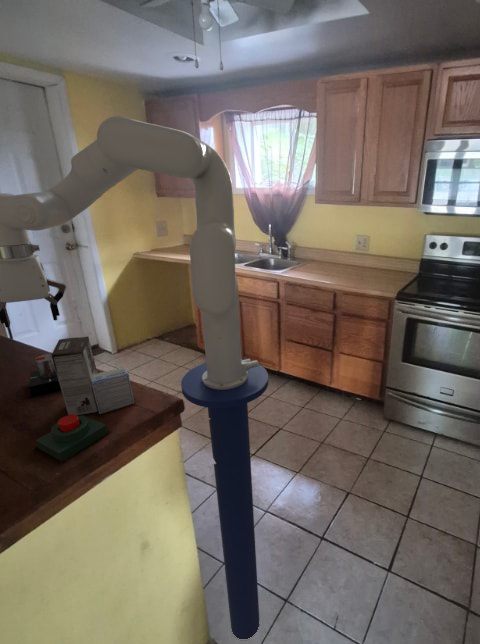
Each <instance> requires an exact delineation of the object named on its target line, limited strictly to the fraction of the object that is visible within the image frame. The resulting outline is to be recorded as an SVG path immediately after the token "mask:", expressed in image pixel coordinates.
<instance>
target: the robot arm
mask: <svg viewBox="0 0 480 644" xmlns="http://www.w3.org/2000/svg"><path fill="white" fill-rule="evenodd" d="M96 131H97V132H96V139H95V140H94V141H92V142H91V143H90V144H88V145H87V146H86V147H84V148H83V149H82V150H79V152H77V153H75V154H74V155H73V156H72V158H71V159H70V165H71V167H70V171H69V173H68V174H67V175H66V176H65V177H64V178H63V179H62V180H60V181H59V182H57V183H56V184H55V185H53V186H52V187H50V188H49V189H48V190H46V191H40V192H29V193H21V194H12V193H8V192H7V193H6V192H5V193H4V192H3V193H1V192H0V324H2V325H3V324H4V327H5V328H9V327H10V326H11V319H10V315H9V313H8V310H7V308H5V306H6V304H8V303H19V302H20V303H21V302H28V301H35V300H36V301H37V300H42V299H44V300H45V301H47V302H49V308H50V311H51V315H52V319H53V321H58V317H60V315H61V314H60V311H59V307H58V303H59V302H60V301H61V300H62V298H63V297H64V294H65V291H66V289H67V285H66V283H62V282H60V281H56V280H53V279H49V278H47V277H48V276H47V274H46V271H45V268H44V265H43V264H42V261H41V259H40V257H39V255H37V254H35V253H36V252H40V251H41V249H40V245H39V244H33V243H32V242H31V239H30V235H29V232H28V231H33V232H35V231H43V230H47V229H51V228H55V227H58V226H62V225H64V224H66V223H68V222H69V221H71V220H73V219H74V218H75V217H77V216H78V215H80V214H81V213H82V212H84V211H86V210H87V209H88V208H89V207H91V206H92V205H93V204H94V203H96V201H97V200H99V199H100V198H101V197H102V196H104V194H105V193H107V192H108V191H109V190H110V189H112V188H114V187H115V186H117V184H119V183H120V182H122V181H123V180H125V179H126V178H128V177H129V176H131V175H132V174H134V173H135V172H137V171H138V170H140V171H147V172H151V173H155V174H160V175H165V176H170V177H174V178H179V179H191V181H192V182H193V185H194V191H195V194H194V195H195V200H194V202H195V210H196V229H195V230H194V232H193V234H192V235H191V237H190V243H189V257H190V258H189V259H190V274H191V288H192V289H191V290H192V297H193V300H194V303H195V305H196V306H197V308H198V309H199V311H201V312H200V313H201V323H202V333H203V334H202V335H203V343H204V344H203V345H204V353H205V363H206V365H207V371H205V372H204V374H203V375H202V382H203V384H204V385H205V386H207V387H209V388H212V389H217V390H226V389H232V388H236V387H238V386H241V385H242V384H244V383H245V382H246V381H247V379H248V371H247V370H249V369H250V368H255V367H258V366H259V365H260V364H259V360H257V359H256V360H252V361H251V359H250V358H246V359H243V361H242V341H241V323H240V322H241V321H240V300H239V299H240V298H239V296H240V295H239V294H240V293H239V282H238V278H237V275H236V248H237V238H236V233H235V231H236V229H235V210H234V208H235V207H234V191H233V183H232V182H233V181H232V177H231V173H230V170H229V168H228V166H227V164H226V162H225V161H224V159H223V157H222V156H221V155H220V154H219V153H218V152H217V151H216V150H215V149H214V148H212V146H210V145H208V144H207V143H206V142H205V141H202V140H201V139H200V138H198V137H196V136H195V135H193V134H191V133H188V132H186V131H185V130H180V129H175V128H171V127H166V126H162V125H158V124H155V123H154V124H153V123H149V122H145V121H141V120H137V119H132V118H130V117H126V116H120V115H113V116H109V117H107V118H106V119H105V120H103V121H102V122H101V123H100V124H99V126H98V129H97V130H96ZM50 287H53V288H56V289H58V291H57V292H56V293H55V294H54V295H53V294H52V293H50V292H51V290H50Z"/></svg>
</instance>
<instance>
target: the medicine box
mask: <svg viewBox="0 0 480 644" xmlns="http://www.w3.org/2000/svg"><path fill="white" fill-rule="evenodd" d="M97 373H98V372H97ZM91 384H92V388H93V392H94V396H95V400H96V404H97V407H98V414H99V415H101V414H105V413H109V412H113V411H115V410H118V409H121V408H125V407H128V406H131V405H135V399H134V394H133V390H132V389H133V388H132V384H131V378H130V374H129V372H128V371H127V369H126V367H124V366H123V367H118V368H114V369H110V370H106V371H102V372H99V373H98V374H94V375H93V376H92V378H91Z"/></svg>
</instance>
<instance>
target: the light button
mask: <svg viewBox="0 0 480 644" xmlns="http://www.w3.org/2000/svg"><path fill="white" fill-rule="evenodd" d="M78 416H79V415H68V414H67V415H65V416H63V417H61V418H60V419H58V421H57V422H58V425H59V428H60V431H62V432H68V431H71V430H74V429H76V428H78V427H79V425H80V422H79V419H78Z"/></svg>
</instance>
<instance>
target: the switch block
mask: <svg viewBox="0 0 480 644" xmlns="http://www.w3.org/2000/svg"><path fill="white" fill-rule="evenodd" d="M77 416H78V419H79V422H80V425H79V427H78V428H76V429H74V430H71V431H68V432H62V431H60V428H59V425H58V421H57V422H56V423H55V424H53V426H51V429H50V430H51V431H50V432H48V433H46V434H44V435H43V436H41V437H39V438H37V439H35V443H36V445H37V448H38V450H40V451H42V452H44V453H45V454H47V455H49V456H50V457H53V458H54V459H56V460H58V461H60V462H62V463H64V461H66V460H68V459H69V458H71V457H73V456H75V454H77V453H79V452H81V451H82V450H84V449H85V448H87V447H89V446H90V445H91V444H93V443H95V442H96V441H98V440H100V439H101V438H102V437H104V436H106V435H107V434H108V429H107V426H106V424H105V423H102V422H100V421H98V420H95V419H93V418H91V417H89V416H86V415H85V414H82V415H77Z"/></svg>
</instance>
